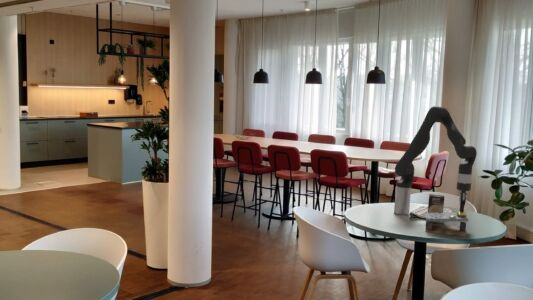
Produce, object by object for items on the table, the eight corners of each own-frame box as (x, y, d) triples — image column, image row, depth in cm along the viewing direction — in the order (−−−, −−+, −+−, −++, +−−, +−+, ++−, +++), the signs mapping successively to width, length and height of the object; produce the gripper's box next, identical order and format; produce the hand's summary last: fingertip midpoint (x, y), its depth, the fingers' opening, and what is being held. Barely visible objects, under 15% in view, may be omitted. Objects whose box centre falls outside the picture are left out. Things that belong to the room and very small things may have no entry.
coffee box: (426, 221, 328) (428, 195, 326) (426, 219, 334) (428, 193, 332) (442, 223, 325) (444, 197, 323) (442, 221, 331) (444, 195, 329)
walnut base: (425, 231, 305) (426, 221, 304) (425, 224, 321) (426, 215, 321) (467, 236, 299) (468, 226, 298) (465, 229, 315) (466, 219, 314)
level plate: (426, 221, 305) (426, 215, 304) (426, 214, 320) (426, 209, 320) (468, 221, 298) (468, 215, 298) (466, 215, 314) (466, 209, 313)
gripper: (456, 179, 312) (454, 208, 314) (457, 182, 299) (455, 213, 301) (470, 180, 310) (467, 210, 312) (472, 184, 297) (469, 215, 299)
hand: (461, 211), depth 306 cm, fingers closed
